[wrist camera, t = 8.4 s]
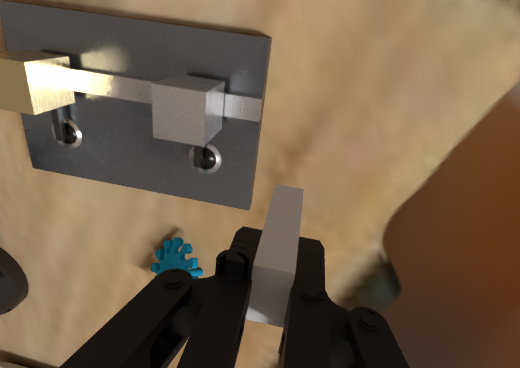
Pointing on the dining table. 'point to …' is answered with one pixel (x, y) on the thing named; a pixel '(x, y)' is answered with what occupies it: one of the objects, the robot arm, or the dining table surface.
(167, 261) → the gear
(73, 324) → the dining table surface
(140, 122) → the plate
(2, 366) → the square plate
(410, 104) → the dining table surface
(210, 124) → the block
